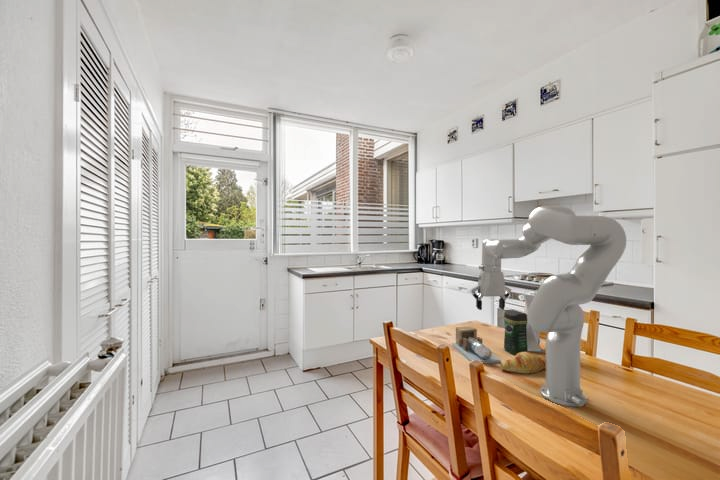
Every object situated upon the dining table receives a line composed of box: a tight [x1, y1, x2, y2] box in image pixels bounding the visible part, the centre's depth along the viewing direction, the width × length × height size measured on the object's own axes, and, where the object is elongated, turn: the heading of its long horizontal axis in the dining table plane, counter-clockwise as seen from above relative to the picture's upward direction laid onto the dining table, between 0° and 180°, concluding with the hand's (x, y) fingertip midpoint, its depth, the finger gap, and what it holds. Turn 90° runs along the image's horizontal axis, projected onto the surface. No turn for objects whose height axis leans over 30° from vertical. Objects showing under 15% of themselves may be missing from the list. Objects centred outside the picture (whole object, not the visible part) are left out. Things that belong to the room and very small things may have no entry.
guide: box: [463, 336, 483, 351], centre depth 144 cm, size 3×8×5 cm, turn 96°
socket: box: [455, 326, 478, 346], centre depth 151 cm, size 4×8×8 cm, turn 96°
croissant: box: [498, 352, 546, 375], centre depth 126 cm, size 21×10×8 cm, turn 100°
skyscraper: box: [522, 289, 546, 354], centre depth 146 cm, size 8×8×28 cm
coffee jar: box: [503, 309, 528, 355], centre depth 144 cm, size 10×8×19 cm
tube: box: [467, 337, 493, 360], centre depth 139 cm, size 14×5×5 cm, turn 6°
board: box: [451, 342, 502, 364], centre depth 143 cm, size 22×12×1 cm, turn 6°
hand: (490, 308), depth 135 cm, fingers open, 9 cm apart
